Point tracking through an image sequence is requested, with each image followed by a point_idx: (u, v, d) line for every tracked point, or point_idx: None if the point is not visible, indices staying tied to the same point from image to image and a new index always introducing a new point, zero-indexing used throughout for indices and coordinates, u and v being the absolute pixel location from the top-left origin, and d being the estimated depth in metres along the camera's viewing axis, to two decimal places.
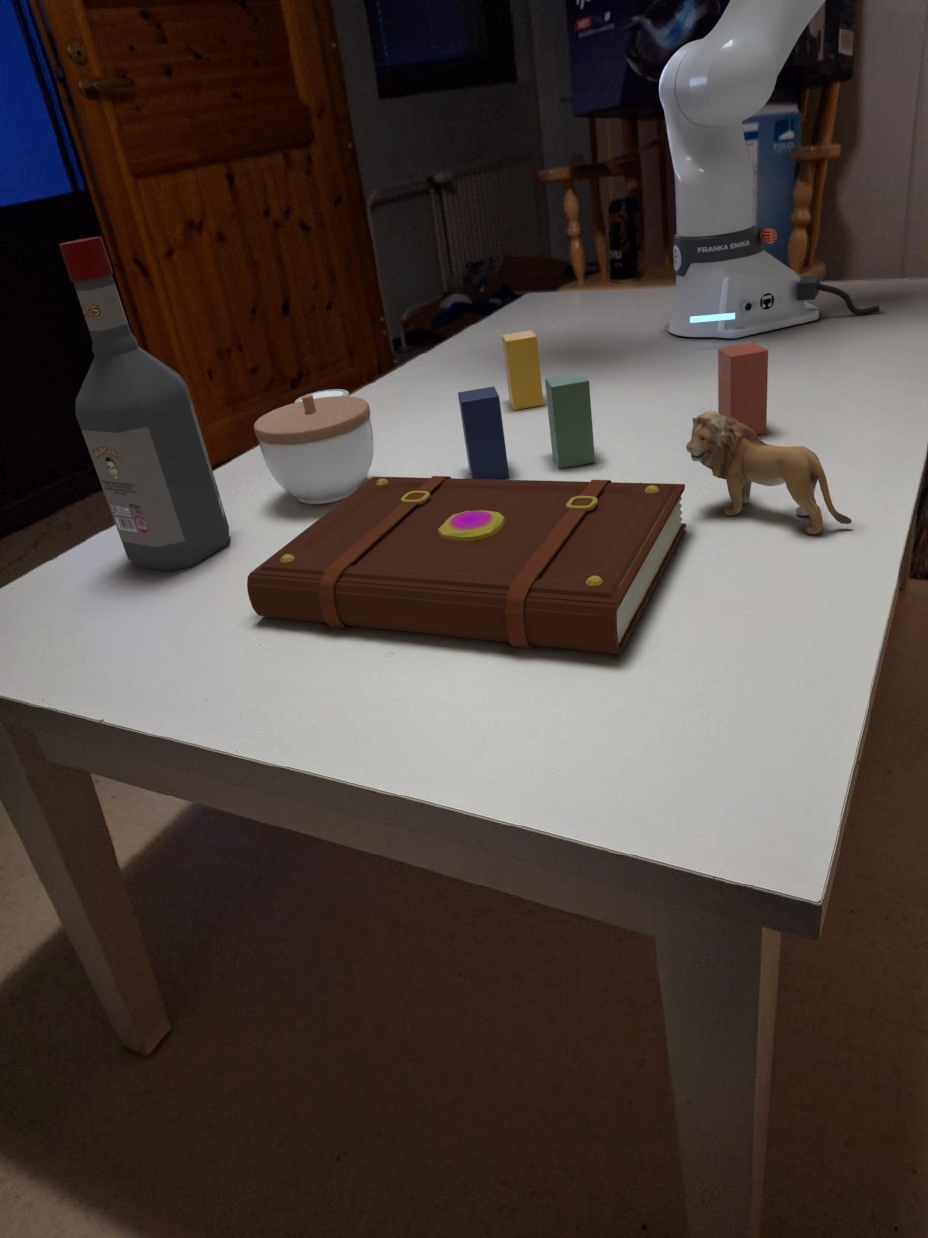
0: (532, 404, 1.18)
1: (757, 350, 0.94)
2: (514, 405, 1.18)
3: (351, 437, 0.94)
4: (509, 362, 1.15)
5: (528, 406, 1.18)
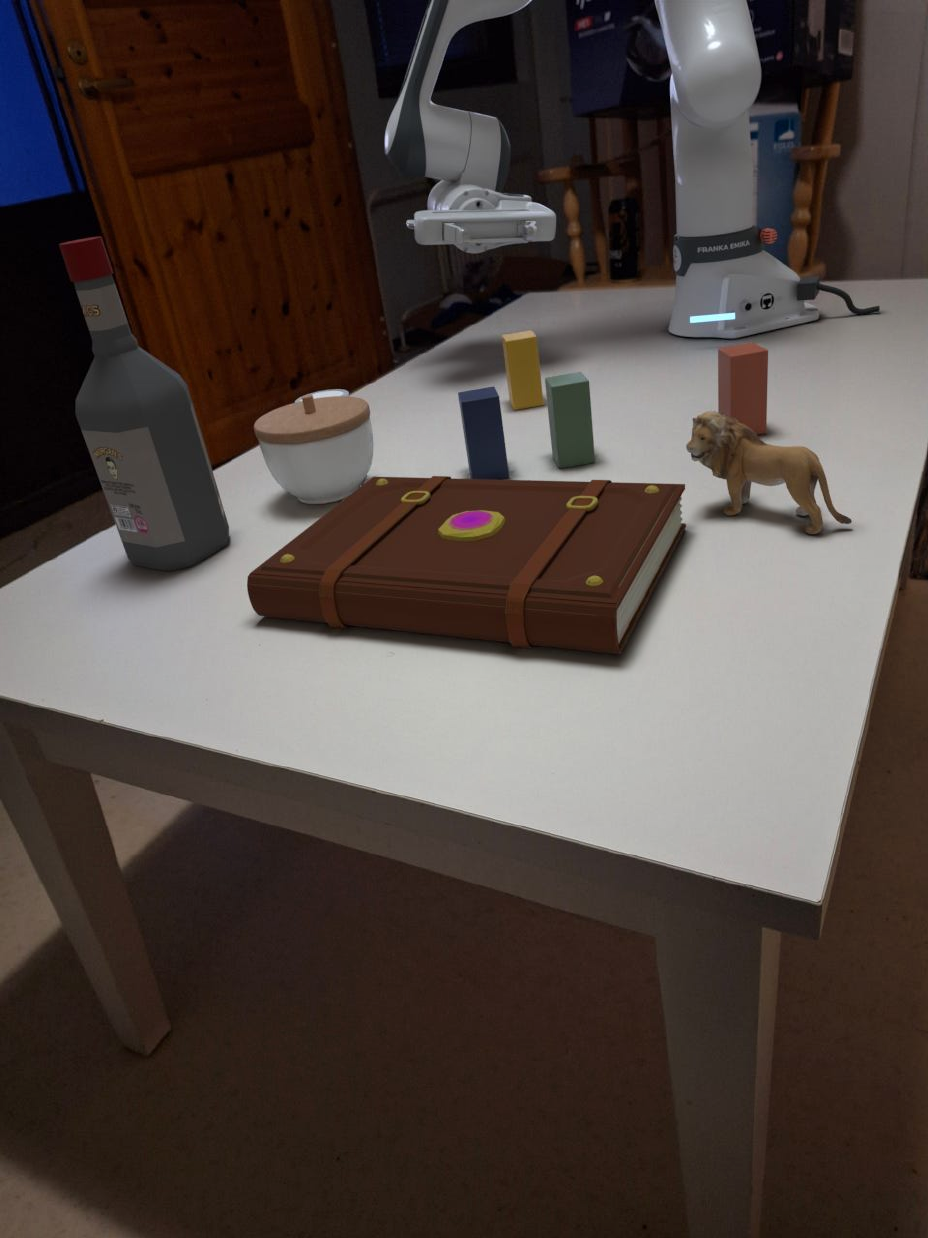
0: (532, 404, 1.18)
1: (757, 350, 0.94)
2: (514, 405, 1.18)
3: (351, 437, 0.94)
4: (509, 362, 1.15)
5: (528, 406, 1.18)
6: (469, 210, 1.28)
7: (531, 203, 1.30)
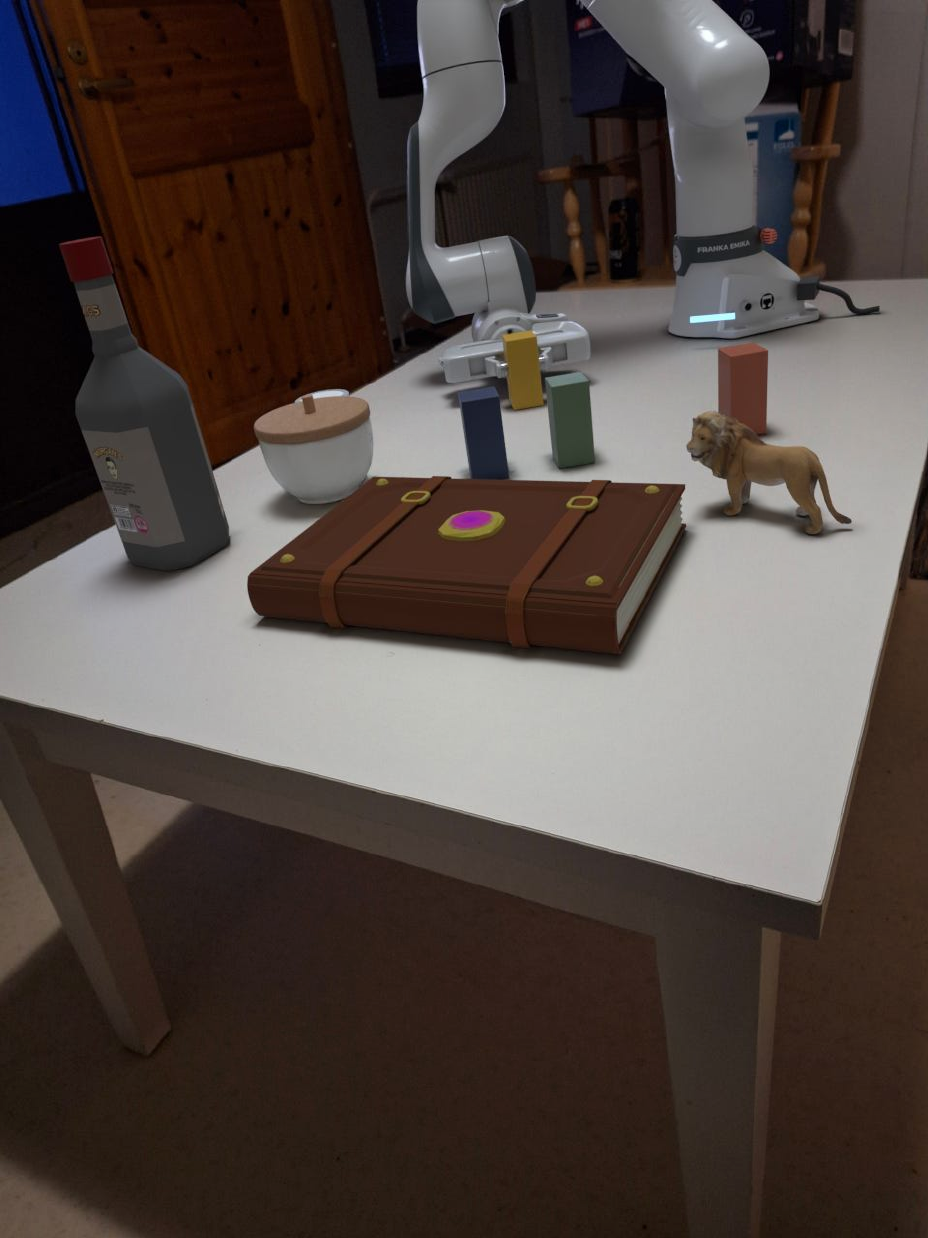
0: (532, 404, 1.18)
1: (757, 350, 0.94)
2: (514, 405, 1.18)
3: (351, 437, 0.94)
4: (509, 362, 1.15)
5: (528, 406, 1.18)
6: (500, 339, 1.25)
7: (565, 323, 1.25)
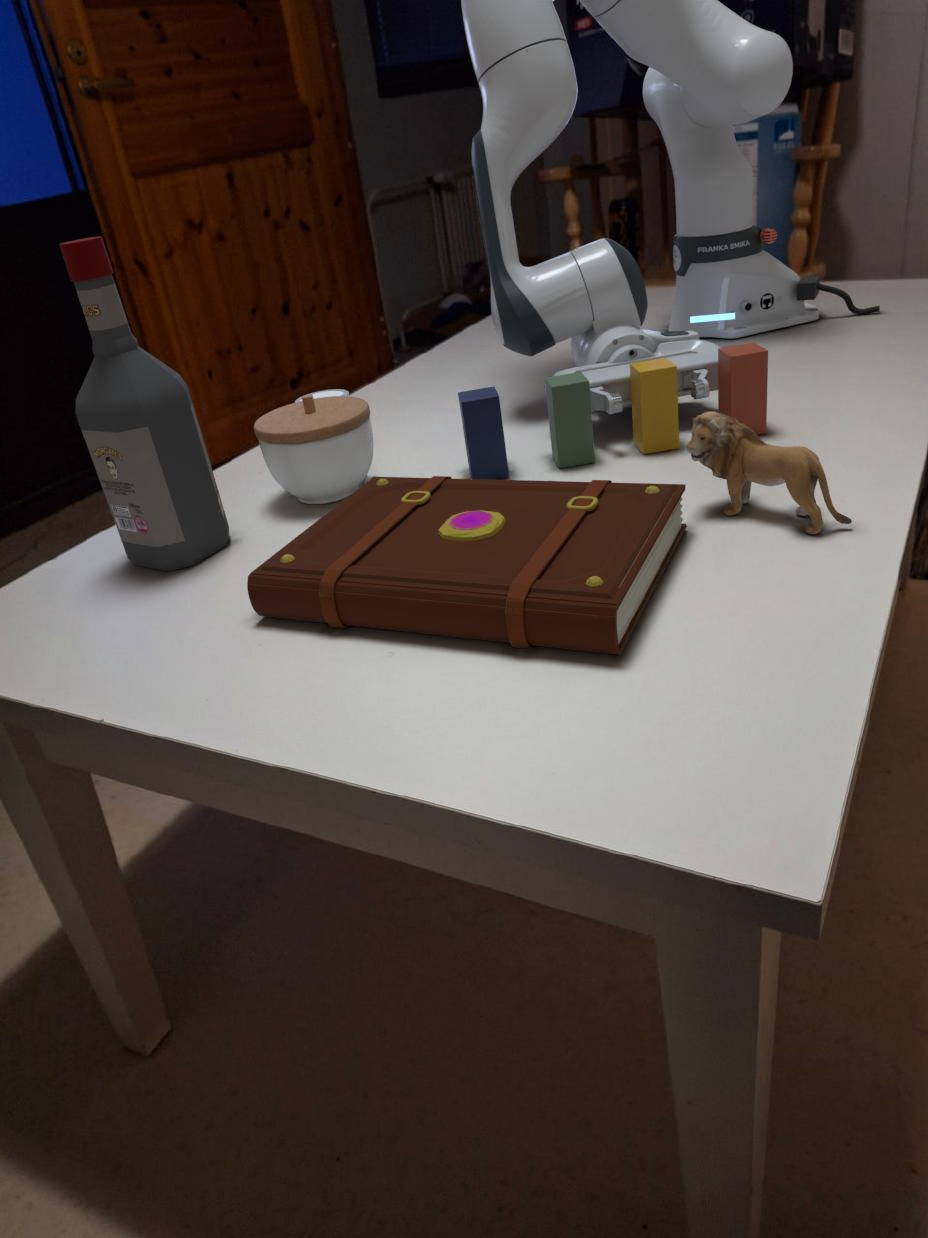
0: (665, 447, 0.97)
1: (757, 350, 0.94)
2: (644, 448, 0.97)
3: (351, 437, 0.94)
4: (641, 397, 0.94)
5: (660, 449, 0.97)
6: (621, 362, 1.04)
7: (699, 342, 1.04)
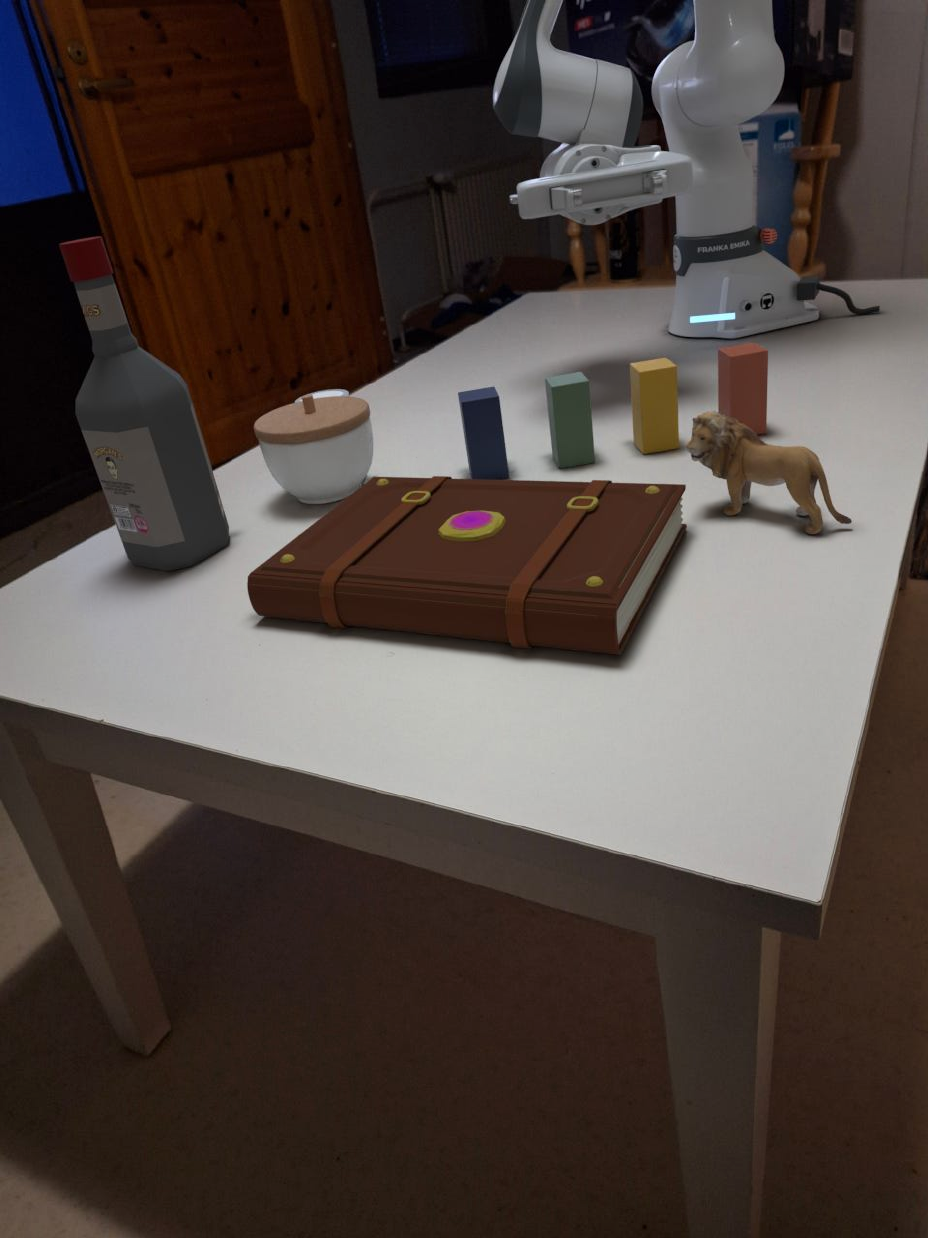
0: (665, 447, 0.97)
1: (757, 350, 0.94)
2: (644, 448, 0.97)
3: (351, 437, 0.94)
4: (641, 397, 0.94)
5: (660, 449, 0.97)
6: (583, 172, 1.06)
7: (660, 152, 1.06)
